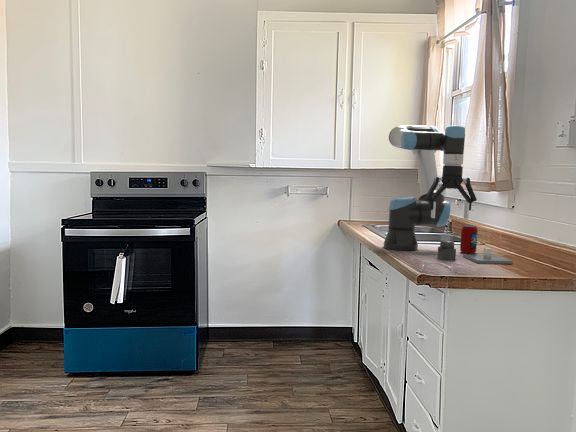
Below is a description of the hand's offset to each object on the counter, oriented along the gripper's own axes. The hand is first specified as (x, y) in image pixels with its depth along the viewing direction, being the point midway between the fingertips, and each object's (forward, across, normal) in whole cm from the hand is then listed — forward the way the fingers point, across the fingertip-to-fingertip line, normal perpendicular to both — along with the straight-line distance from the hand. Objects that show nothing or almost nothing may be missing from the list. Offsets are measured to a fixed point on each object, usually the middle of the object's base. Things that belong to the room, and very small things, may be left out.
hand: (449, 218), depth 202 cm
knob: (+17, 0, 0) cm, 17 cm away
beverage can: (+17, +16, +17) cm, 29 cm away
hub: (+16, +16, -2) cm, 23 cm away
